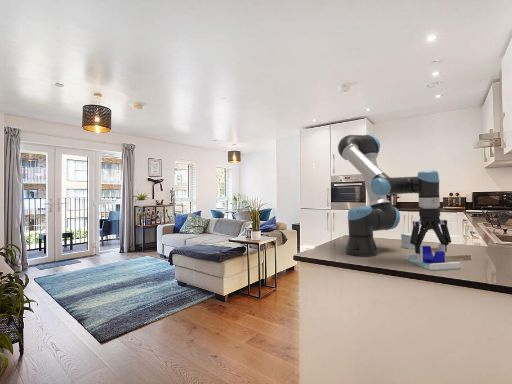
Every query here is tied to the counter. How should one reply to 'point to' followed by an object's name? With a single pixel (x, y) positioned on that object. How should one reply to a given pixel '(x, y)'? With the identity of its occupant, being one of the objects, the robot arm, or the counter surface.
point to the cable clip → (429, 257)
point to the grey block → (406, 241)
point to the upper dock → (453, 256)
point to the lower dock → (433, 266)
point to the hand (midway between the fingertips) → (431, 260)
